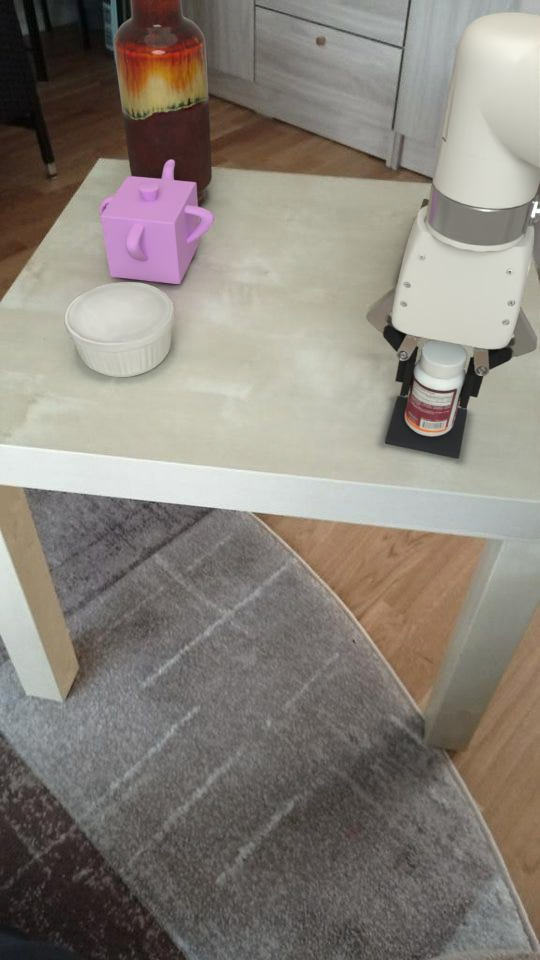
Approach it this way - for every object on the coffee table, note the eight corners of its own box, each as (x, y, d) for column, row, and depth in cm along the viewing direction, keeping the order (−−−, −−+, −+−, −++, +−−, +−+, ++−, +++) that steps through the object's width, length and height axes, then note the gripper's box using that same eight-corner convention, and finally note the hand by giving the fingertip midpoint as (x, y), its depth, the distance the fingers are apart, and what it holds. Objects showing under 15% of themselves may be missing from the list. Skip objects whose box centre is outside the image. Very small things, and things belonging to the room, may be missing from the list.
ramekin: (53, 371, 77) (42, 329, 73) (105, 312, 84) (97, 272, 80) (149, 396, 75) (143, 354, 71) (194, 333, 82) (191, 293, 78)
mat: (466, 413, 73) (467, 409, 73) (458, 459, 69) (459, 454, 69) (397, 399, 75) (397, 395, 74) (385, 443, 70) (385, 439, 70)
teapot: (131, 220, 98) (121, 144, 91) (232, 231, 97) (230, 154, 89) (85, 296, 86) (69, 215, 79) (200, 309, 85) (194, 228, 77)
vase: (122, 211, 100) (89, -13, 81) (150, 175, 107) (125, -38, 88) (199, 221, 99) (184, -4, 79) (222, 184, 106) (214, -31, 86)
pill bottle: (423, 397, 73) (439, 328, 67) (462, 421, 71) (482, 352, 65) (393, 420, 71) (406, 350, 65) (433, 445, 69) (450, 376, 63)
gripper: (596, 202, 56) (530, 386, 69) (376, 170, 59) (354, 352, 73) (596, 252, 51) (525, 439, 65) (357, 214, 54) (337, 400, 68)
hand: (435, 391), depth 68 cm, fingers closed on pill bottle, 4 cm apart
